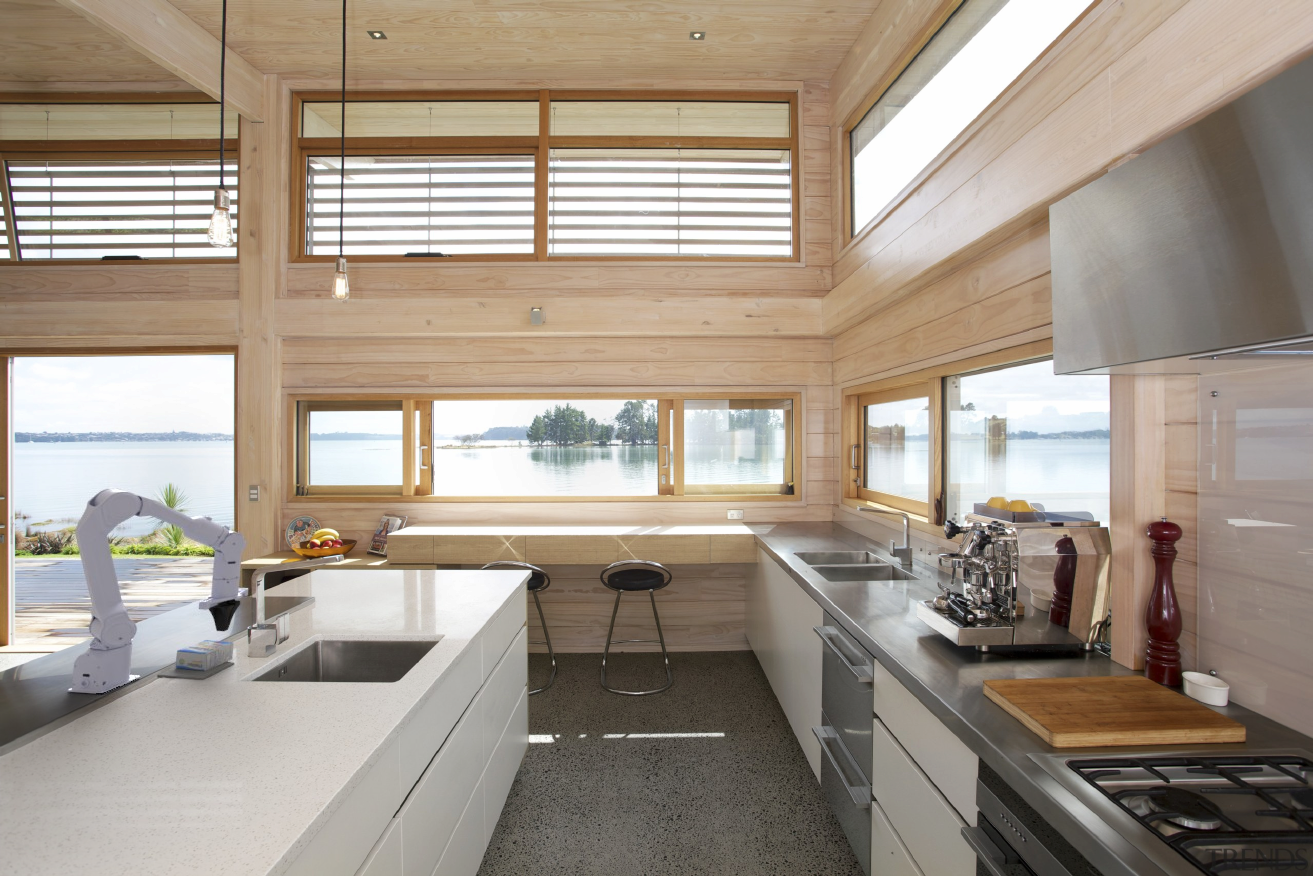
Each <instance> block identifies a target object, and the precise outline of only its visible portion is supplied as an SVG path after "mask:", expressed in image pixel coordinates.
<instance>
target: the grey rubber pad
mask: <svg viewBox="0 0 1313 876" xmlns="http://www.w3.org/2000/svg"><path fill="white" fill-rule="evenodd" d="M233 665H235V662H233V661H231V662H230V661H227V662H225V663H223V664H220V665H218V666H216V667H213V668H211V669H209V670H206V671H202V670H193V669H183V668H176V666H174V667H172V668H170V669H168V670H165V671H162V672H161V673H158V674H157V675H156V676H157V677H159V678H160V677H161V678H176V679H187V680H189V679H191V680H206V679H207V678H209V677H211V676H213V675H215V674H217V673H220V672H222V671H223V670H226V669H227V668H229V667H231V666H233Z"/></svg>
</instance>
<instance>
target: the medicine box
mask: <svg viewBox="0 0 1313 876" xmlns="http://www.w3.org/2000/svg"><path fill="white" fill-rule="evenodd" d="M233 651H234V642H231V641H219V640H209V639H205V640H201V641H199V642H196V643H194V644H191V645H188V646H186V647H184V648H181V649H178V650H176V657H175V658H176V659H175V667H176V668H183V669H193V670H202V671H206V670H209V669H211V668H213V667H216V666H218V665H220V664H223V663H225V662H230V661H231V660H233V659H234V658H233V656H234V652H233Z"/></svg>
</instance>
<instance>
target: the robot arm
mask: <svg viewBox="0 0 1313 876" xmlns="http://www.w3.org/2000/svg"><path fill="white" fill-rule="evenodd" d="M86 503H87V504H86V507H85V509H84V512H83V514H82V515H81V517H80V520H79V521H78V523H77V524H76V527H75V530H74V535H75V538H76V543H77V546H78V547H77V548H78V550H79V551H78V552H79V555H80V559H81V564H82V568H83V572H84V576H85V581H86V586H87V589H88V593H89V598H90V602H91V605H92V607H91V610H90V614H91V620H90V622H89V624H88V632H89V633H90V635H92V637H93V639H92V640H91V642H90V643H89V648H88V649H87V650H86V651H85V652H84V653H82V654H80V655H79V656H77V658H76V659H75V660H74V663H73V669H72V671H73V672H72V682H71V683H72V684H71V687H70V688H68V689H67V692H69V693H81V694H85V693H86V694H96V693H103V692H106V691H108V690H111V689H113V688H115V689H117V688H116V687H118V686H120V687H122V686H124V684H125V685H127V684H130V683H131V681H132V682H134V681H136V680H138V679H140V678H141V675H136V674H131V667H132V653H133V640H134V637H135V636H136V634H137V630H138V628H137V627H138V626H137V624H136V622H135V621H134V620H132V619H131V618H130V617H129V613H128V611H127V608H126V607H125V604H124V602H123V599H122V596H121V590H120V585H119V582H118V577H117V574H116V573H117V572H116V569H115V565H114V561H113V555H112V552H111V547H110V543H109V538H108V536H109V534H110V533H111V532H112V531H113V530H114V529H115V528H116V527H117V526H118V525H120V524H122V523H123V522H125V521H128V520H129V519H131V518H133V517H135V516H136V517H139V518H141V517H149V516H150V517H152V518H155V519H157V520H159V521H162V522H165V523H168V524H169V525H173V526H175V527H178V528H180V529H181V530H182V533H183V536H184V537H185V538H187V539H190V540H193V541H194V542H197V543H200V544H201V545H204V546H206V547H209V548H212V550H213V551H214V556H213V557H214V558H213V568H212V569H213V570H212V581H211V593H210V595H208V596H207V597H206V598H204V599H203V600H199V601H198V610H204V611H205V610H208V611H209V612H210V614H211V617H212V619H213V622H214V626H215V629H216V632H226V631H228V630H229V628H230V625H231V622H232V619H233V617H234V615H235V613H236V611H237V610H238V608H239V607H240V605H241V600H239V599H241V598H243V597H247V596H248V595H249V588H248V587H240V578H241V565H242V553H243V552H244V551H245V549H246V548H247V543H248V542H247V541H246V539H245V537H244V535H243V534H242V533H239V532H237V531H233V530H231V529H230V528H231V527H230V526H228V525H224V526H223V525H221V524H219V523H217V522H215V521H213V518H212V517H211V516H209V515H205V516H202V515H196V516H193V517H190V516H188V515H187V514H184V513H182V512H180V511H178V510H176V509H174V508H172V507H170V506H168V505H166V504H164V503H162V502H161V501H158V500H155V499H152V498H149V497H146V496H142V495H139V494H136V493H134V492H131V491H125V490H122V489H121V488H115V487H110V488H109V487H108V488H105V489H102V490H100V491H99V492H97V493H96V494H95V495H94V496H93V497H91V499H89V500H88V501H87V502H86ZM139 677H140V678H139ZM135 679H136V680H135ZM133 680H134V681H133ZM118 688H119V687H118ZM113 690H114V689H113ZM111 691H112V690H111ZM108 692H109V691H108ZM106 693H107V692H106Z"/></svg>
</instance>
